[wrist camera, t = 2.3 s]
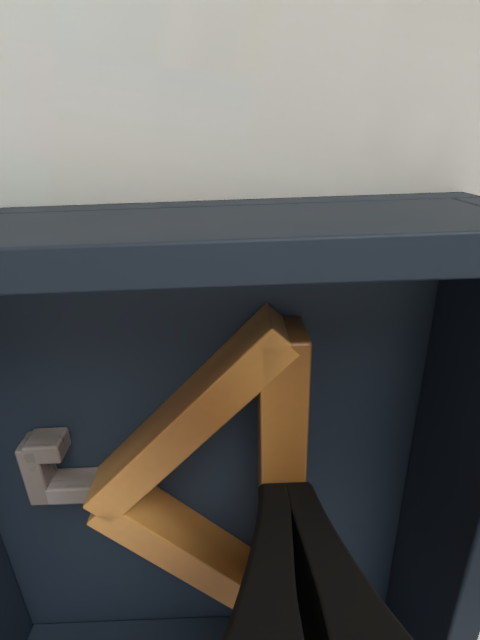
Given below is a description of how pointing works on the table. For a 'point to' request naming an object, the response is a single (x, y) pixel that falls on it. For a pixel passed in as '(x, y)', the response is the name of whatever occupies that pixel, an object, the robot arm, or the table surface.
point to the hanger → (178, 444)
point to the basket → (241, 430)
